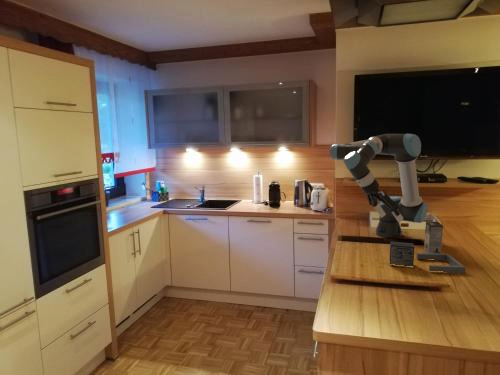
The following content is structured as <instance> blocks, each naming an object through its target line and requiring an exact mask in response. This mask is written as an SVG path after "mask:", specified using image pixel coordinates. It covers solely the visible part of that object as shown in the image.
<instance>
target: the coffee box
mask: <svg viewBox="0 0 500 375" xmlns="http://www.w3.org/2000/svg"><path fill="white" fill-rule="evenodd" d="M424 228H425V230H424V231H425V232H424V246H423V251H424V253H437V254H442V245H443V244H442V243H443V231H444V226H443V225H442V224H441V222H439V221H425V227H424Z"/></svg>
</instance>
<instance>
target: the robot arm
mask: <svg viewBox="0 0 500 375" xmlns="http://www.w3.org/2000/svg"><path fill="white" fill-rule="evenodd" d="M421 148H422V142H421V139H420V137H419V135H416V134H413V133H384V134H380V135H376V136H371V137H369V138H368V139H364V140H359V141H353V142H348V143H342V144H341V143H336V144H335V143H334V144H332V145H331V146H330V148H329V156H330V157H331V159H332V160H337V161H340V160H341V161H343V163H344V166H345V167H346V169H347V170H348V172H349V173H350V174H351V175H352V177H353V178H354V180H355V181H356V184H357V185H359V187H360V189H361V190H362V191H363V193H364V195H365V197H366V199H367V202H368V204H369V206H372V207H373V208H374V210H375V211H376V213H377V214H378V216H379V219H378V224H377V226H376V229H375V235H377V236H379V237H381V238H382V237H383V238H388V239H391V238H392V239H393V238H395V239H396V238H401V237H402V236H403V231H402V227H401V224H400V223H401V222H402V221H405V222H412V223H417V224H419V223H421V224H422V223H423V222H424V221H425V219H426V217H427V214H428V209H429V208H428V207H429V206H428V204H427V203H426V202H424V201H423V198H422V197H421V196H420V193H419V191H420V190H419V183H418V182H419V181H418V174H417V166H416V160H417V159H418V157H419V156H420V154H421V151H422V149H421ZM376 155H385V156H386V155H387V156H393V158H394V161H395V162H396V163H397V165H398V171H399V179H400V186H401V193H402V198H401V196H389V194H387V193H386V192H385V190H384V189H382V190H380V189H379V187H380V184H379V182H378V180H377V179H376V177H375V176H374V174H373V173H372V171H371V170H370V169H369V167H368V165H369V163H370V162H371V161H372V160H373V159H374V158H375V157H376ZM378 201H379V202H378Z"/></svg>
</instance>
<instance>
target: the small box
mask: <svg viewBox="0 0 500 375" xmlns="http://www.w3.org/2000/svg"><path fill="white" fill-rule="evenodd" d="M389 244H390V246H389V261H390V263H389V265H390V264H395V265H404V266H414V265H415V264H414V262H415V245H414V243H412V242H399V241H390V243H389Z"/></svg>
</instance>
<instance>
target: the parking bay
mask: <svg viewBox="0 0 500 375" xmlns="http://www.w3.org/2000/svg"><path fill="white" fill-rule="evenodd" d="M416 258H417V259H434V260H433V261H442V260H446V261H445V262H447V263H448V264H449V265H445V264H444V265H443V264H441V265H440V264H438V265H436V264H431V265H430V264H429V266H428V271H429V270H430V271H443V272H447V273H446V274H461V275H463V274H466V266H465V265H463V263H461V262H459V261H458V260H457V259H455V258H454V257H453V256H452V255H450V253H441V254H437V253H426V252H416ZM416 258H415V259H416ZM417 259H416V260H417Z"/></svg>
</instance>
